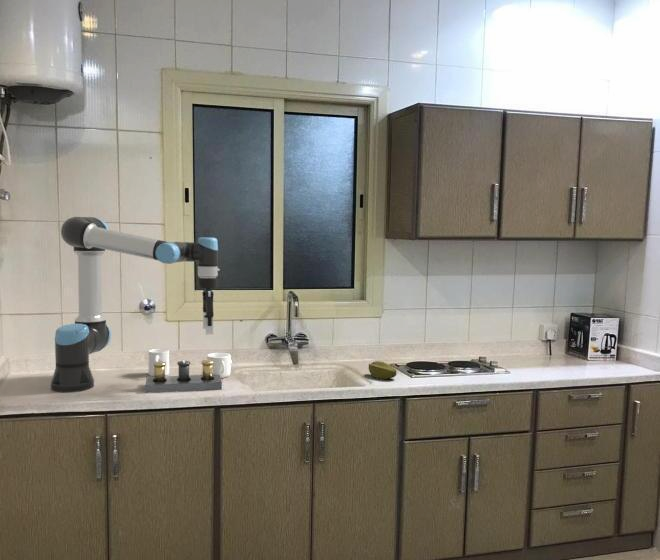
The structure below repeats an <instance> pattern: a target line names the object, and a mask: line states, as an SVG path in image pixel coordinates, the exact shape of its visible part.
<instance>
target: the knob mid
mask: <svg viewBox="0 0 660 560" xmlns="http://www.w3.org/2000/svg"><path fill="white" fill-rule="evenodd" d="M177 365H178V376H179V380H180V381H186V380H189V376H190V365H191V361H189V360H184V359H183V360H180V361H179V360H178V361H177Z"/></svg>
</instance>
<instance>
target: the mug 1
mask: <svg viewBox="0 0 660 560" xmlns="http://www.w3.org/2000/svg"><path fill="white" fill-rule="evenodd" d="M154 362H166V365H165V376H169V374H170V349H168V348H153V349H149V350H148V375H149V377H154V366H153V363H154Z"/></svg>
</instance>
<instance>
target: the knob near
mask: <svg viewBox="0 0 660 560" xmlns="http://www.w3.org/2000/svg"><path fill="white" fill-rule="evenodd" d="M165 365H166V362H154V363H153V366H154V381H156V382H162V381H165Z"/></svg>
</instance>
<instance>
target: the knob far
mask: <svg viewBox="0 0 660 560" xmlns="http://www.w3.org/2000/svg"><path fill="white" fill-rule="evenodd" d="M200 364H201V365H202V366H201V369H202V370H201V372H202V374H201V375H202V379H204V380H210V379H213V364H214V361H213V360H207V359H204V360H201V362H200Z"/></svg>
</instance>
